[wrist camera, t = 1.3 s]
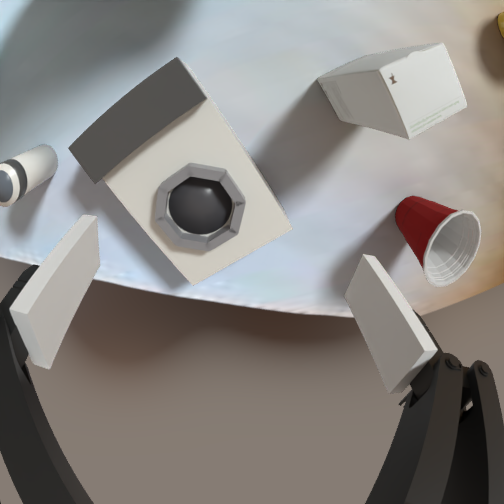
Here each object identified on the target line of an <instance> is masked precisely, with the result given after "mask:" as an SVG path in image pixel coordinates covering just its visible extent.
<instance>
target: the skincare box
mask: <svg viewBox="0 0 504 504" xmlns="http://www.w3.org/2000/svg"><path fill="white" fill-rule="evenodd" d="M317 80H318V82H319V84H320V85H321V87H322V89H323V91H324V92H325V94H326V96H327V98H328V100H329V101H330V103H331V105H332V107H333V109H334V110H335V112H336V114H337V116H338V118H339V120H340V121H344V122H348V123H352V124H356V125H360V126H364V127H368V128H372V129H376V130H380V131H383V132H386V133H390V134H393V135H397V136H400V137H403V138H406V139H409V140H410V139H412V138H413V137H415V136H417V135H419V134H420V133H422V132H424V131H426V130H427V129H429V128H431V127H433V126H434V125H436V124H438V123H440V122H441V121H443V120H445V119H447V118H449V117H450V116H452V115H454V114H456V113H457V112H459V111H461V110H463V109H464V108H466V107H467V103H466V100H465V96H464V94H463V91H462V88H461V85H460V83H459V80H458V77H457V75H456V72H455V69H454V67H453V64H452V62H451V59H450V57H449V55H448V52H447V50H446V48H445V45H444V43H434V44H427V45H420V46H413V47H407V48H401V49H395V50H390V51H385V52H380V53H376V54H371V55H366V56H363V57H360V58H358V59H356V60H353V61H351V62H349V63H347V64H344V65H342V66H340V67H338V68H336V69H334V70H332V71H330V72H328V73H326V74H324V75H322V76H321V77H319V78H318V79H317Z"/></svg>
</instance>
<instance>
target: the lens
mask: <svg viewBox="0 0 504 504" xmlns="http://www.w3.org/2000/svg"><path fill="white" fill-rule="evenodd" d="M57 167H58V158H57V154H56V152H55V151H54V149H53V148H52V147H51V146H49V145H45V144H43V145H39V146H37V147H35V148H33V149H30V150H28V151H26V152H24V153H22V154H19V155H17V156H15V157H13V158H11V159H8V160H6V161H4V162H2V163H0V206H3V207H8V206H10V205H12V204H14V203H15V202H16V201H18V200H19V199H20V198H22V197H23V196H24V195H25V194H27V193H28V192H30V191H31V190H32V189H34V188H35V187H37V186H38V185H40V184H41V183H43V182H44V181H46V180H47V179H49V178H50V177H52V176H53V175H54V174H55V172H56V170H57Z"/></svg>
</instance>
